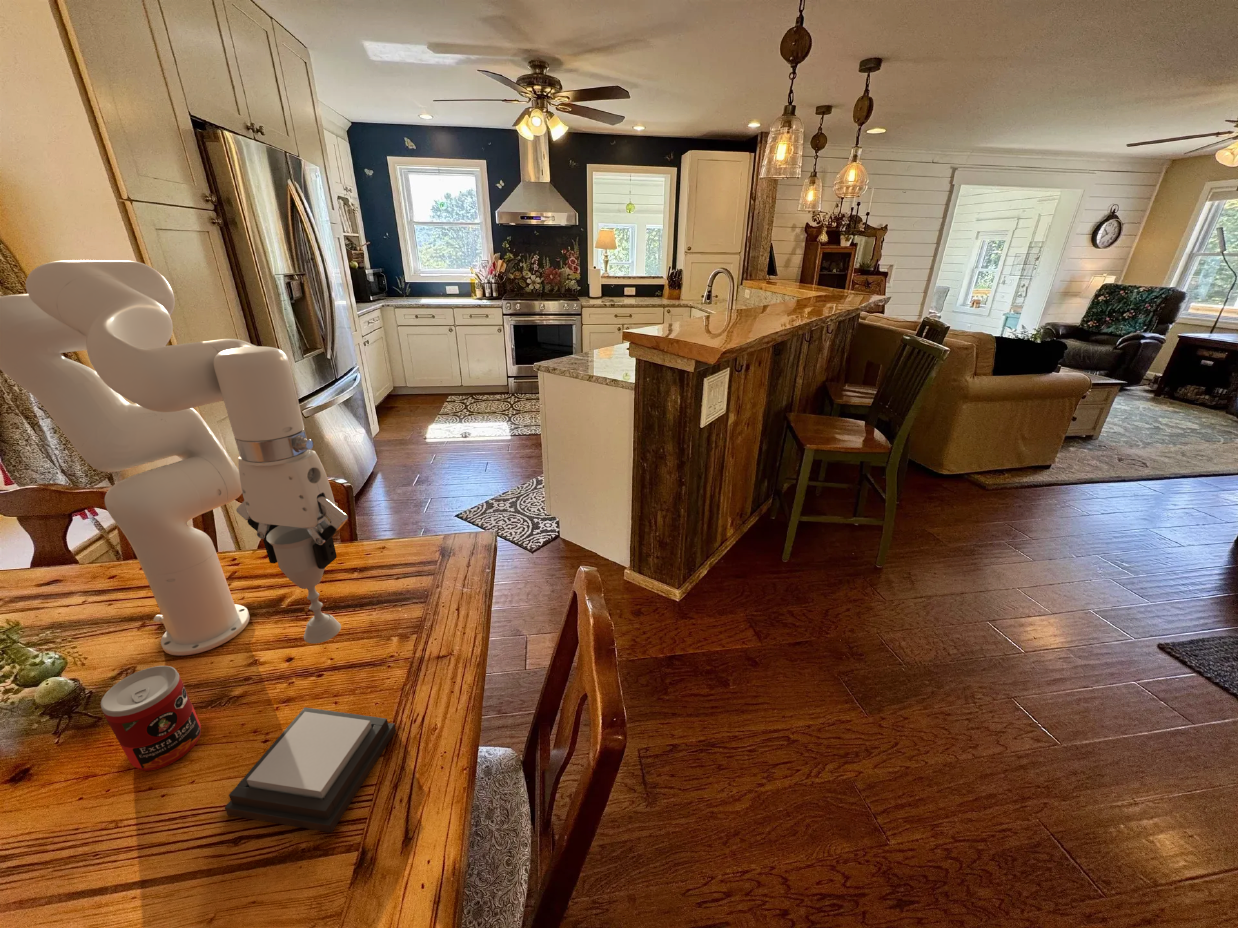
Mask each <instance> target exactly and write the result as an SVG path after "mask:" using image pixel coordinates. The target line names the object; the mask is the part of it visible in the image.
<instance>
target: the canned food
mask: <svg viewBox="0 0 1238 928" xmlns="http://www.w3.org/2000/svg"><path fill="white" fill-rule="evenodd" d="M100 708H101V711H102V713H103V715H104V718H105V719H106V721H107V723H108V725H109V727H110V729H111V730H112V732H113V734H114V736H115V738H116V739H117V741H118V744H119V745H120V747H121V749H122V750H123V752H124V754H125V756H126V758H127V759H128V762H129V763H130V765H131V766H133V767H134V768H136V769H137V770H140V771H145V772H147V771H155V770H158V769H162V768H165V767H167V766H170V765H171V764H173V763H176V762H177V761H178V760H180V759H181V758H183V757H184V756H185V755H187V754H188V753H189V752H190V751H191V750H192V749H193V748H194V747H195V745H197V743H198V742H199V739H200V737H201V732H202V725H201V722H200V720H199V717H198V715H197V713H196V711H195V708H194V705H193V704H192V700H191V699H190V696H189V694H188V691H187V689H186V687H185V684H184V682H183V679H182V678H181V676H180V673H179V672H178V670H177V669H176V668H175V667H173V666H169V665H156V666H152V667H151V666H150V667H147V668H144V669H141V670H138V671H136V672H133V673H131V674H130V675H128V676H126V677H123V679H121V680H119V681H118V682H117V683H115V684H114V685H113V686H112V687H110V688H109V689H108V690H107V691H106V693H105V694H104V695H103V696H102V698H101V701H100Z"/></svg>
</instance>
